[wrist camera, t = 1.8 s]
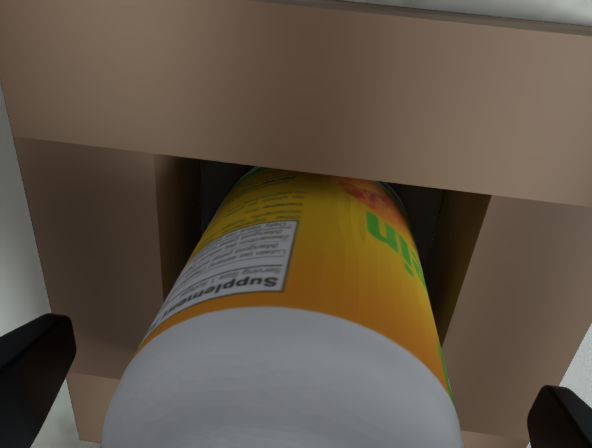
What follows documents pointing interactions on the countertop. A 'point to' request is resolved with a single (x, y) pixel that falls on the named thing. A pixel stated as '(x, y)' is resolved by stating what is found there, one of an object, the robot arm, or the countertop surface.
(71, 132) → the walnut open tray
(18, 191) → the countertop surface
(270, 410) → the supplement bottle
